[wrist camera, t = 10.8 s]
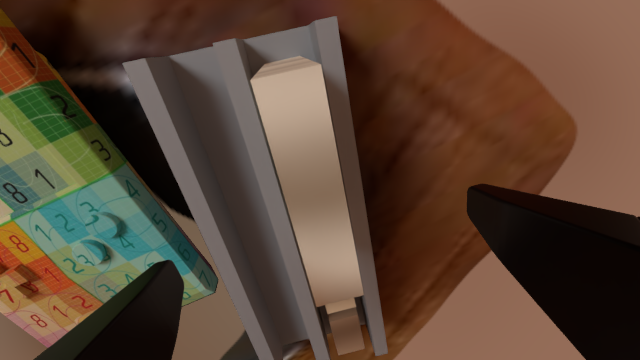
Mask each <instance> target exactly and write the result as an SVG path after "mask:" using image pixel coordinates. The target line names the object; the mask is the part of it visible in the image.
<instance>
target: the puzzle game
mask: <svg viewBox="0 0 640 360" xmlns="http://www.w3.org/2000/svg"><path fill="white" fill-rule="evenodd" d="M164 260H172V261H173V262H174V264H175V266H176V267H177V269H178V271H179V273H180V275H181V277H182V278H183V281H184V293H183V300H182V307H183V306H185V305H188V304H190V303H192V302H194V301H197V300H199V299H202V298H204V297H206V296H209V295H211V294H213V293H215V291H216V288H217V284H218V278H217V276H216V274H215V272H214V270H213V269H212V267H211V265H210V264H209V263H208V261H207V260H206V259H205V258H204V256H203V255H202V254H201V253H200V251H199V250H198V249H197V248H196V247H195V245H194V244H193V243H192V241H191V240H190V239H189V238H188V236H187V235H186V234H185V232H184V231H183V230H182V229H181V227H180V226H179V225H178V224H177V222H176V221H175V220H174V219H173V217H172V216H171V215H170V214H169V212H168V211H167V210H166V209H165V207H164V206H163V205H162V203H161V202H160V201H159V200H158V198H157V197H156V196H155V195H154V193H153V192H152V191H151V190H150V188H149V187H148V186H147V185H146V183H145V182H144V181H143V180H142V178H141V177H140V176H139V175H138V173H137V172H136V171H135V169H134V168H133V167H132V166H131V164H130V163H129V162H128V161H127V159H126V158H125V157H124V156H123V154H122V153H121V152H120V151H119V149H118V148H117V147H116V146H115V144H114V143H113V142H112V141H111V139H110V138H109V137H108V135H107V134H106V133H105V132H104V130H103V129H102V128H101V127H100V125H99V124H98V123H97V122H96V120H95V119H94V118H93V117H92V115H91V114H90V113H89V112H88V110H87V109H86V108H85V107H84V105H83V104H82V103H81V102H80V100H79V99H78V98H77V96H76V95H75V94H74V93H73V91H72V90H71V89H70V88H69V86H68V85H67V84H66V83H65V81H64V80H63V79H62V78H61V76H60V75H59V74H58V73H57V71H56V70H55V69H54V68H53V66H52V65H51V64H50V62H49V61H48V60H47V59H46V57H45V56H43V55H42V54H41V53H39V52H37V51H35V50H34V49H33V48H32V46H31V45H30V44H29V43H28V41H27V40H26V39H25V38H24V36H23V35H22V34H21V33H20V32H19V30H18V29H17V28H16V27H15V25H14V24H13V23H12V22H11V20H10V19H9V18H8V17H7V15H6V14H5V13H4V12H3V10H2V9H1V8H0V312H1V313H2V314H3V315H5V316H6V317H7V318H9V319H10V320H11V321H13V322H14V323H15V324H17V325H18V326H19V327H21V328H22V329H23V330H25V331H26V332H27V333H29V334H30V335H32V336H33V337H34V338H36V339H37V340H38V341H40V342H41V343H42V344H44V345H45V346H46V347H48V348H49V347H50V346H51V345H52V344H54V343H55V342H56V341H57V340H59V339H60V338H61V337H63V336H64V335H65V334H66V333H68V332H69V331H70V330H71V329H73V328H74V327H75V326H76V325H78V324H79V323H80V322H81V321H83V320H84V319H85V318H86V317H88V316H89V315H90V314H91V313H93V312H94V311H95V310H97V309H98V308H99V307H100V306H102V305H103V304H104V303H105V302H107V301H108V300H109V299H110V298H112V297H113V296H114V295H115V294H117V293H118V292H119V291H120V290H122V289H123V288H124V287H126V286H127V285H128V284H129V283H131V282H132V281H133V280H134V279H136V278H137V277H138V276H139V275H141V274H142V273H143V272H144V271H146V270H147V269H148V268H149V267H151V266H152V265H153V264H155V263H157V262H160V261H164Z"/></svg>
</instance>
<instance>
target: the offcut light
mask: <svg viewBox="0 0 640 360" xmlns="http://www.w3.org/2000/svg"><path fill="white" fill-rule="evenodd" d="M325 307H326V310H327V314H330V313H334V312H338V311H342V310H346V309H350V308H354V307H356V304H355V299H354V298H351V299H347V300H343V301H339V302H335V303H331V304H327V305H325Z"/></svg>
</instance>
